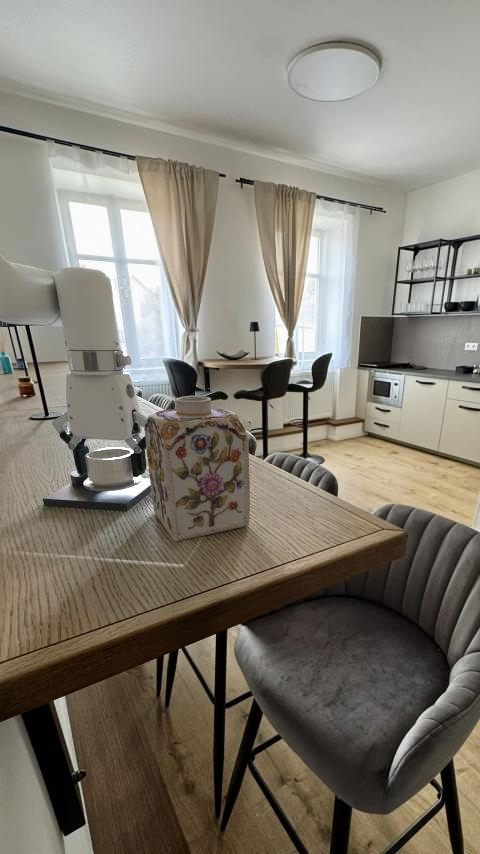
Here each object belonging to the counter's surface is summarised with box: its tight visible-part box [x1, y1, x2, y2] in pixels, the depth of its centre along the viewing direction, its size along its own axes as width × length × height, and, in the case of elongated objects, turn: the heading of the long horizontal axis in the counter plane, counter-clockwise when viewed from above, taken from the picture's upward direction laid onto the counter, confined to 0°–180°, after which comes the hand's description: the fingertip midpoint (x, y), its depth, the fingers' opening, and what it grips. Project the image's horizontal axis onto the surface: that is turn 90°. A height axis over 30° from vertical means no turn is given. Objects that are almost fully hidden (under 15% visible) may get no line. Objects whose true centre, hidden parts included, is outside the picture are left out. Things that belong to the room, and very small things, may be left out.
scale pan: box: [83, 475, 143, 491], centre depth 68 cm, size 9×9×1 cm
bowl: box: [85, 447, 134, 486], centre depth 67 cm, size 7×7×4 cm
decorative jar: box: [143, 395, 251, 543], centre depth 59 cm, size 12×12×18 cm
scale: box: [42, 469, 151, 513], centre depth 70 cm, size 14×12×3 cm
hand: (112, 473), depth 68 cm, fingers open, 9 cm apart
